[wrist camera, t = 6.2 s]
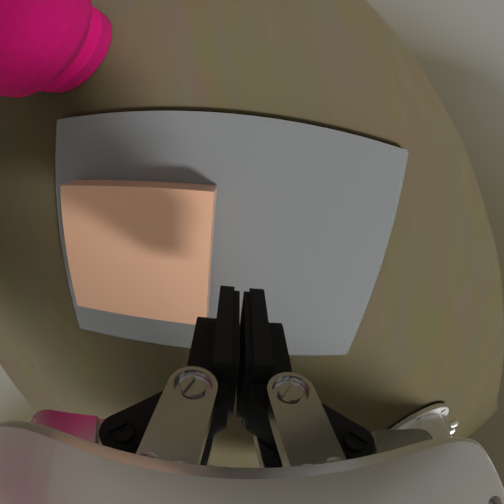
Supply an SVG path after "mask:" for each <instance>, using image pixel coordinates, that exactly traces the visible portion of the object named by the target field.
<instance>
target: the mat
mask: <svg viewBox="0 0 504 504" xmlns="http://www.w3.org/2000/svg"><path fill="white" fill-rule="evenodd" d="M407 158H408V150H405V149H402V148H399V147H396V146H392V145H389V144H386V143H383V142H379V141H376V140H372V139H369V138H365V137H362V136H358V135H354V134H350V133H346V132H342V131H338V130H333V129H329V128H324V127H320V126H315V125H310V124H304V123H299V122H293V121H287V120H281V119H274V118H267V117H259V116H251V115H242V114H231V113H218V112H202V111H131V112H115V113H103V114H93V115H84V116H77V117H70V118H63V119H57V128H56V150H55V177H56V199H57V212H58V222H59V231H60V239H61V246H62V252H63V258H64V264H65V269H66V274H67V279H68V284H69V288H70V293H71V297H72V301H73V305H74V309H75V312H76V316H77V320H78V323H79V326H80V328H81V329H85V330H89V331H94V332H98V333H102V334H107V335H112V336H117V337H122V338H127V339H132V340H138V341H144V342H150V343H156V344H163V345H169V346H177V347H184V348H191V344H192V339H193V335H194V330H195V324H186V323H178V322H170V321H163V320H156V319H149V318H142V317H136V316H130V315H124V314H118V313H113V312H107V311H102V310H97V309H92V308H87V307H82V306H78V305H77V301H76V297H75V293H74V289H73V284H72V279H71V274H70V269H69V263H68V257H67V251H66V244H65V237H64V229H63V219H62V208H61V193H60V186H61V185H63V184H66V183H69V182H71V181H74V180H136V181H160V182H177V183H192V184H205V185H217V186H218V187H217V198H216V209H215V222H214V235H213V249H212V264H211V281H210V301H209V313H208V318H217V310H218V301H219V293H220V286H232V287H234V290H235V291H240V318H241V310H242V302H243V294H244V291H247V292H249V289H250V288H255V289H264V292H265V300H266V307H267V314H268V321H269V323H282V325H283V329H284V334H285V339H286V344H287V349H288V354H289V355H347V353H348V350H349V348H350V346H351V344H352V341H353V339H354V337H355V334H356V332H357V330H358V327H359V325H360V322H361V320H362V317H363V315H364V312H365V310H366V307H367V304H368V302H369V299H370V296H371V294H372V291H373V288H374V285H375V282H376V279H377V276H378V273H379V270H380V267H381V264H382V261H383V258H384V255H385V251H386V248H387V245H388V241H389V238H390V234H391V230H392V227H393V223H394V219H395V215H396V211H397V207H398V202H399V198H400V194H401V189H402V184H403V179H404V174H405V169H406V163H407Z"/></svg>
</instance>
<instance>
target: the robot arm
mask: <svg viewBox="0 0 504 504" xmlns="http://www.w3.org/2000/svg"><path fill="white" fill-rule="evenodd" d="M236 386H237V417H242V425H245V428H246V429H247V430H249V431H250V432H251V433H252V434H253V439H254V443H255V448H256V452H257V456H258V460H259V464H260V468H231V467H215V466H208V465H209V461H210V457H211V453H212V448H213V444H214V440H215V434H217V433H218V432H220V431H221V430H222V429H224V428H225V427H226V424H227V417H232V414H233V407H234V400H235V393H236ZM448 412H449V408H448V406H447V405H446V404H445V403H437V404H433V405H430V406H428V407H425V408H423V409H421V410H419V411H417V412H415V413H414V414H412V415H410V416H408V417H407V418H405V419H403V420H402V421H400V422H399V423H397V424H396V425H394V426H393V427H392V428H390V429H389V430H380V429H375V430H374V431H373V432H369V431H368V430H366V429H365V428H364V427H362V426H360V425H358V424H356V423H355V422H353V421H351V420H349V419H348V418H346V417H344V416H342V415H341V414H339V413H337V412H336V411H334V410H332V409H331V408H329V407H327V406H326V405H324V404H322V403H321V402H320V399H319V397H318V395H317V393H316V390H315V388H314V386H313V385H312V383H311V382H310V381H309V380H308V379H307V378H306V377H304V376H302V375H300V374H297V373H293V372H292V369H291V364H290V359H289V354H288V349H287V344H286V339H285V334H284V329H283V325H282V323H269V321H268V314H267V307H266V300H265V292H264V289H255V288H250V289H249V292H247V291H244V294H243V302H242V310H241V318H240V291H235V290H234V287H232V286H220V293H219V301H218V310H217V318H207V317H197V320H196V325H195V330H194V335H193V339H192V344H191V349H190V354H189V359H188V365H187V367H183V368H180V369H178V370H176V371H175V372H173V373H172V375H171V376H170V377H169V379H168V382H167V384H166V386H165V388H164V390H163V391H162V392H160V393H158V394H156V395H154V396H152V397H150V398H148V399H146V400H144V401H142V402H139V403H137V404H135V405H133V406H131V407H129V408H127V409H125V410H122V411H120V412H118V413H116V414H114V415H111V416H110V417H108V418H106V419H98V417H97V416H91V415H81V414H73V413H66V412H60V411H53V410H41V411H38V412H37V413H36V414H35V415H34V416H33V418H32V420H31V422H23V421H1V422H0V504H504V488H503V486H502V483H501V481H500V479H499V476H498V474H497V472H496V469H495V468H494V465H493V464H492V461H491V460H490V458H489V456H488V455H487V453H486V452H485V450H484V449H483V448H482V446H481V445H480V444H478V443H477V442H476V441H474V440H471V439H467V438H462V437H452V436H451V434H453V433H454V431H455V426H457V425H458V420H457V419H455V420H452V421H450V422H449V421H448V419H447V417H446V416H447V414H448Z"/></svg>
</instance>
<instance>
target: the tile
mask: <svg viewBox="0 0 504 504" xmlns="http://www.w3.org/2000/svg"><path fill="white" fill-rule="evenodd" d="M217 187H218V186H217V185H205V184H192V183H177V182H160V181H136V180H74V181H71V182H69V183H66V184H63V185H61V186H60V193H61V208H62V219H63V229H64V237H65V244H66V251H67V257H68V263H69V269H70V274H71V279H72V284H73V289H74V293H75V297H76V301H77V305H78V306H82V307H87V308H92V309H97V310H102V311H107V312H113V313H118V314H124V315H130V316H136V317H142V318H149V319H156V320H163V321H170V322H178V323H186V324H195V325H196V320H197V317H207V318H208V313H209V301H210V281H211V264H212V249H213V235H214V222H215V209H216V198H217Z"/></svg>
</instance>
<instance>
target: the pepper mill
mask: <svg viewBox="0 0 504 504" xmlns="http://www.w3.org/2000/svg"><path fill="white" fill-rule="evenodd" d="M111 37H112V27H111V23H110V21H109V19H108V18H107V16H105V15H104V14H103V13H102V12H100V11H99V10H98V9H96V8H95V7H93V6H92V5H91V0H0V96H7V97H14V98H19V97H25V96H28V95H32V94H34V93H36V92H38V91H45V92H54V93H62V92H66V91H70V90H72V89H74V88H76V87H77V86H79V85H81V84H82V83H83V82H84V81H86V80H87V79H88V78H89V77H90V76H91V75H92V74H93V72H94V71H95V70H96V69H97V68H98V67H99V65H100V64H101V62H102V61H103V59H104V57H105V56H106V54H107V51H108V48H109V45H110V43H111Z"/></svg>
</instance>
